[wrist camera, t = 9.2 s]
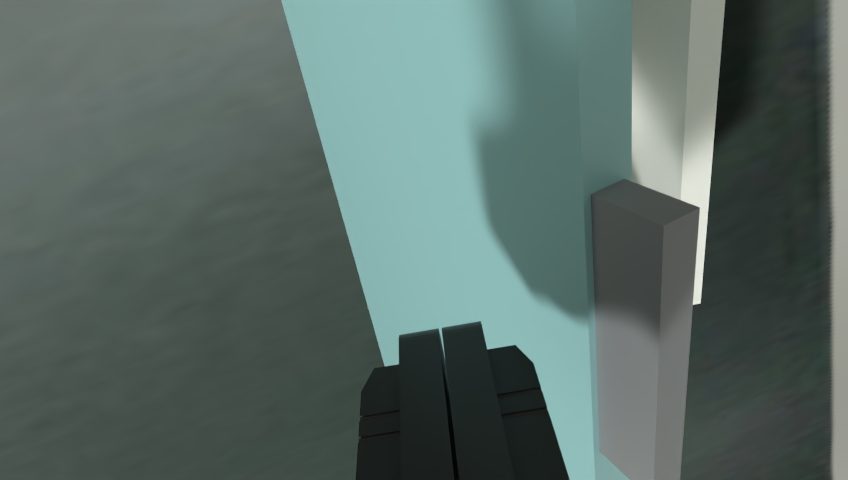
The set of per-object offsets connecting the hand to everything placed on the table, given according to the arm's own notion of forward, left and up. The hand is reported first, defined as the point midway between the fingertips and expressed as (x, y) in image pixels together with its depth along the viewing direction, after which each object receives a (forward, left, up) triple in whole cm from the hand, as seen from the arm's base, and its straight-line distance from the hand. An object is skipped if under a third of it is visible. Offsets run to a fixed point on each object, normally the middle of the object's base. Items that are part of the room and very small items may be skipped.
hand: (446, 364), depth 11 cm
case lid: (0, +1, -6) cm, 6 cm away
